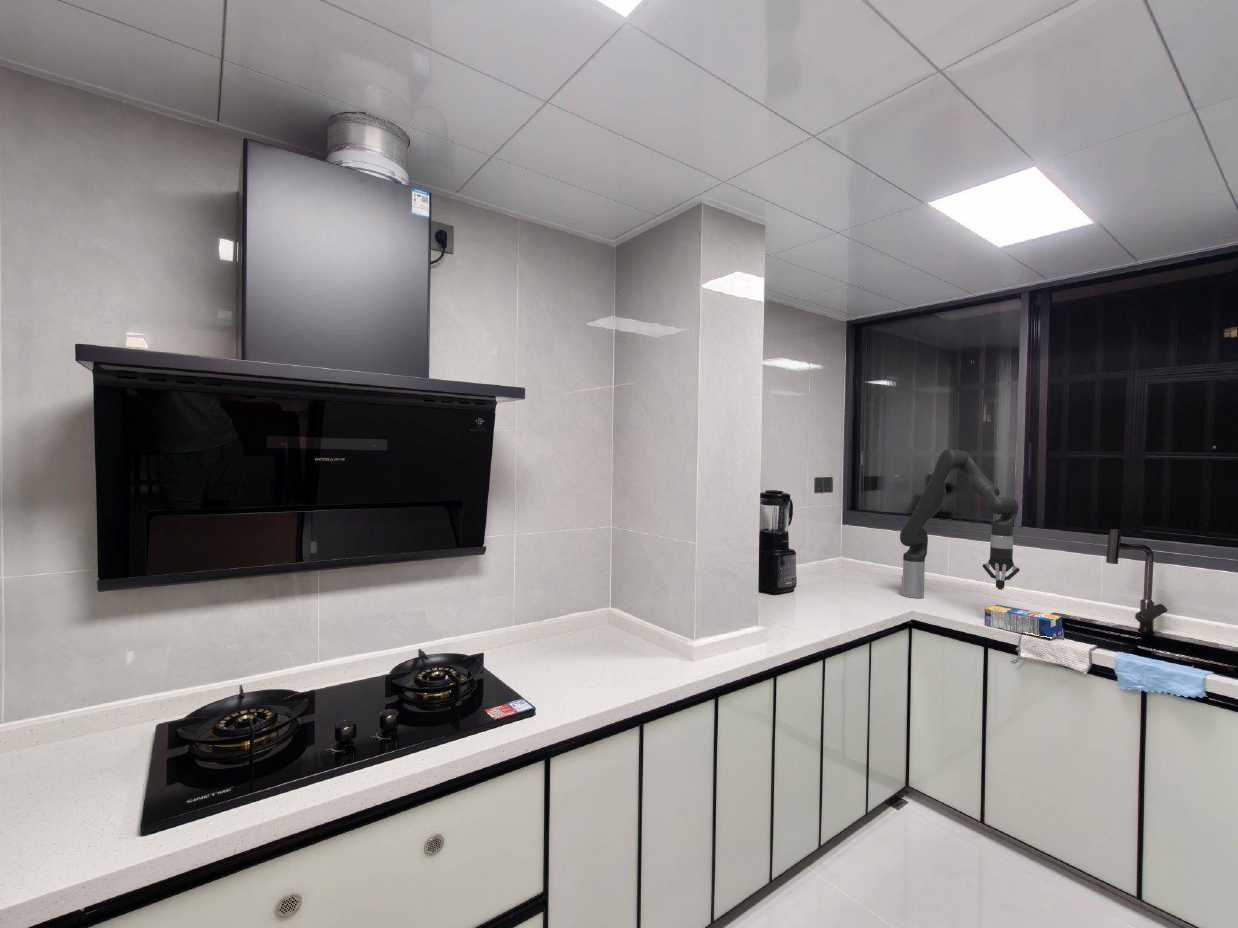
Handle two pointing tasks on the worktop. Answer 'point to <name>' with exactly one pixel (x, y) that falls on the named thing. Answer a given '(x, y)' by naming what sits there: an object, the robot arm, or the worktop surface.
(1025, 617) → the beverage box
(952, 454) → the robot arm
